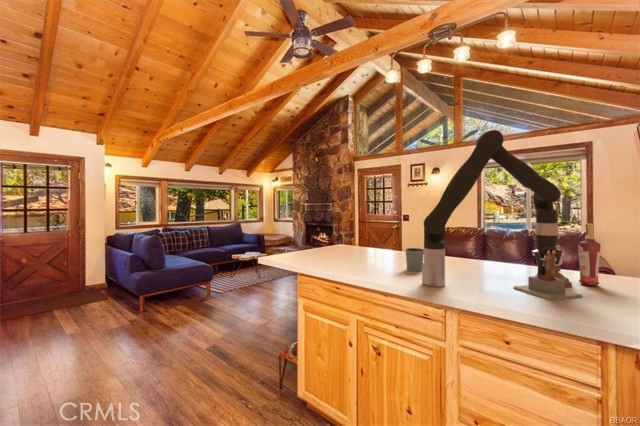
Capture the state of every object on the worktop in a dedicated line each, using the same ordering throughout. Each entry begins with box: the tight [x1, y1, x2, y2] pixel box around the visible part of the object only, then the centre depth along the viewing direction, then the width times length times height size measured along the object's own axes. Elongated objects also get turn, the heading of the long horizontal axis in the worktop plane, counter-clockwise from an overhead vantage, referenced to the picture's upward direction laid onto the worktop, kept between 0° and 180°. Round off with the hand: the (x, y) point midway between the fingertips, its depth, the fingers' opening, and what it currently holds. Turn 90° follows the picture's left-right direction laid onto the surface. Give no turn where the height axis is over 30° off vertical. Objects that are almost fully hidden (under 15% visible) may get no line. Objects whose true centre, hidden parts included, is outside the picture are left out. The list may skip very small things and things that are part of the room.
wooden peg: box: [537, 253, 555, 281], centre depth 119 cm, size 4×4×14 cm
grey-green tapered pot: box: [405, 247, 424, 273], centre depth 164 cm, size 10×10×12 cm
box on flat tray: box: [513, 275, 583, 301], centre depth 119 cm, size 16×16×6 cm
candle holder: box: [535, 231, 573, 288], centre depth 133 cm, size 11×11×24 cm
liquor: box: [578, 223, 602, 287], centre depth 129 cm, size 7×7×28 cm
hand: (546, 274), depth 119 cm, fingers closed on wooden peg, 4 cm apart
